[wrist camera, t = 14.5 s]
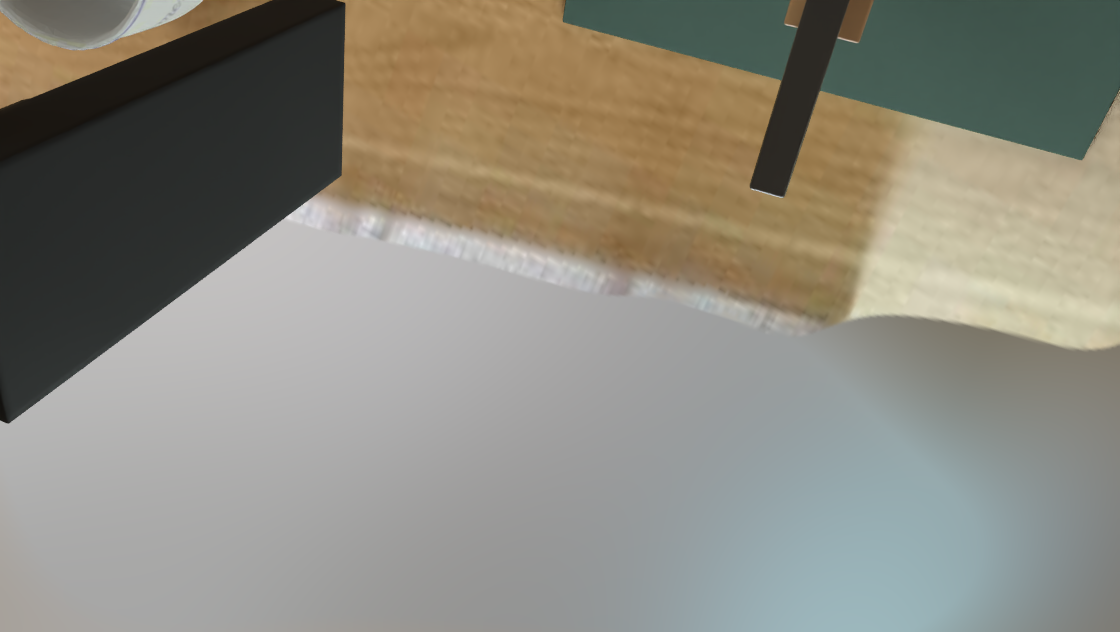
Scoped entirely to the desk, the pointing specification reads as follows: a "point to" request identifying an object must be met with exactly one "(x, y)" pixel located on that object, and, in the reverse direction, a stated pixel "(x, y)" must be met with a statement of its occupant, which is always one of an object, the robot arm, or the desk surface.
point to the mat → (916, 57)
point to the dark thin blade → (803, 83)
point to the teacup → (91, 19)
